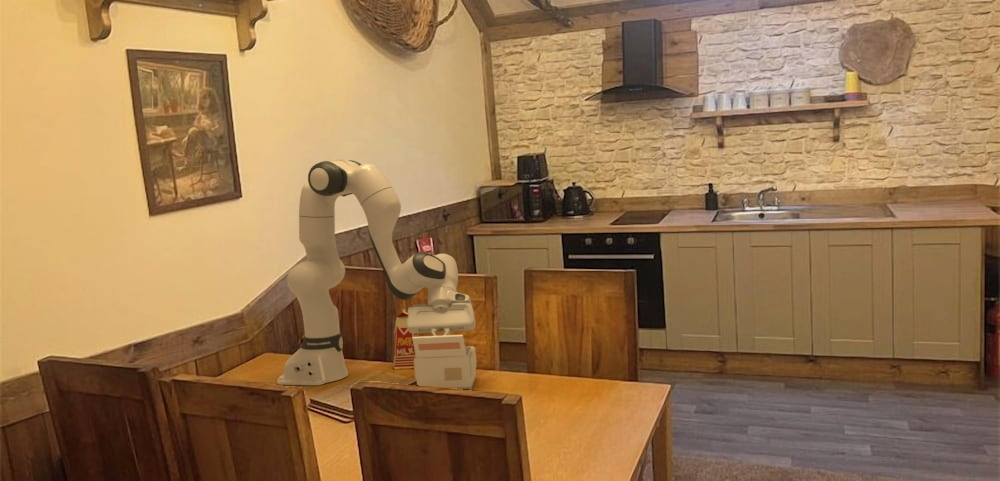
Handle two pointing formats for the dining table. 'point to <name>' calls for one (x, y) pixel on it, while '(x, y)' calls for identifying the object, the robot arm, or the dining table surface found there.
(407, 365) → the milk carton
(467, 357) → the carton
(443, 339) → the flap
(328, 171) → the robot arm
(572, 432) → the dining table surface
